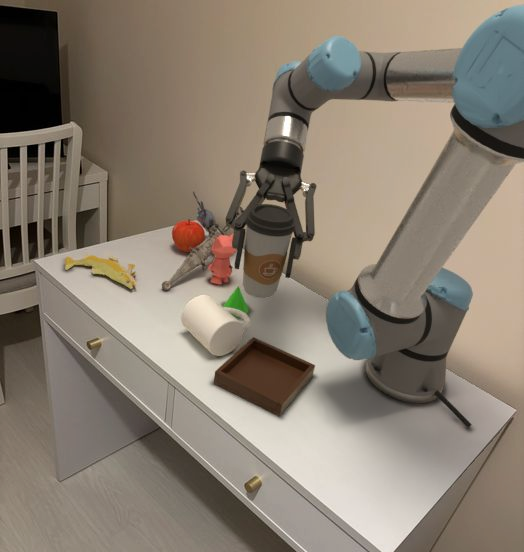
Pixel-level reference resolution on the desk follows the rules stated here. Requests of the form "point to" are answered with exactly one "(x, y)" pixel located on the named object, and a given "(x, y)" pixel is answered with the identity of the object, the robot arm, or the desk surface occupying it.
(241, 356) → the serving tray
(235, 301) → the green pyramid
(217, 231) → the decorative dagger
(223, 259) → the cat figurine
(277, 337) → the desk surface
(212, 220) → the toy
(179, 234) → the apple
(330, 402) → the desk surface
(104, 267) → the toy
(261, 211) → the coffee cup
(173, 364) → the desk surface
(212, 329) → the mug
